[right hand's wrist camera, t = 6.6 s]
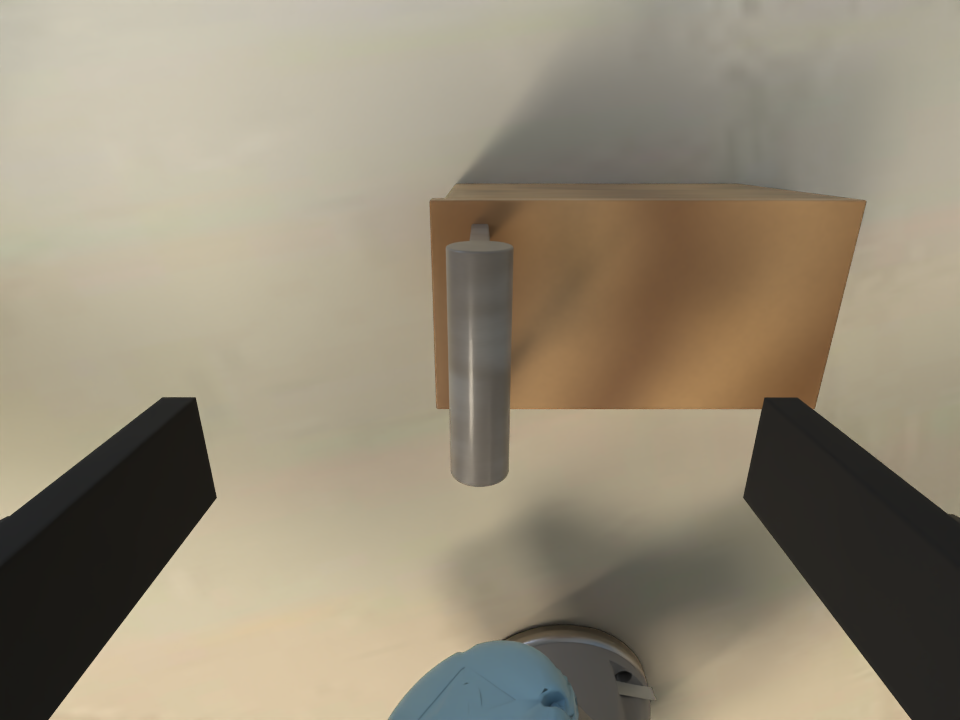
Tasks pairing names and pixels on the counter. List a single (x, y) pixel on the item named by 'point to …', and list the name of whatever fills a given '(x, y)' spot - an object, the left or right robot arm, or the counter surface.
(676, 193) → the chest
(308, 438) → the counter surface
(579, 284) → the lid
